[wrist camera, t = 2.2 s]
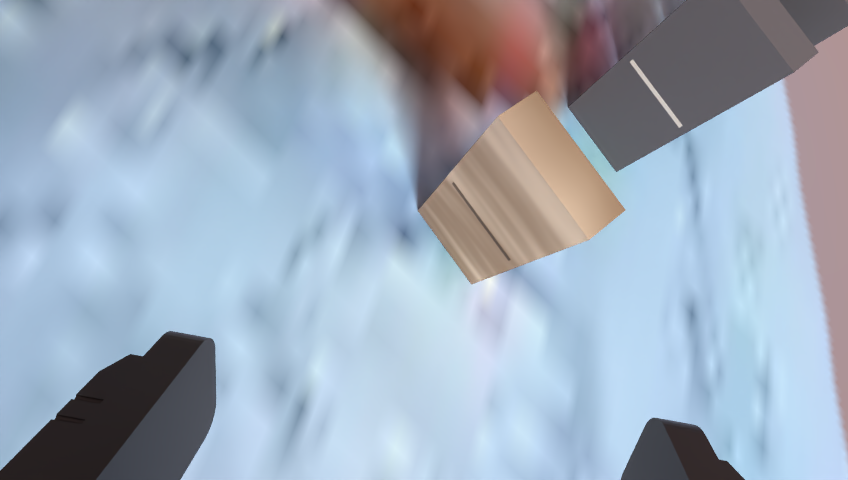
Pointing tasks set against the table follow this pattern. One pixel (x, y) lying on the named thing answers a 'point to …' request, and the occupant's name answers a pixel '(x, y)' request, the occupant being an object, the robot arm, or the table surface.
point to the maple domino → (518, 195)
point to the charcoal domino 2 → (818, 17)
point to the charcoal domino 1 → (690, 74)
